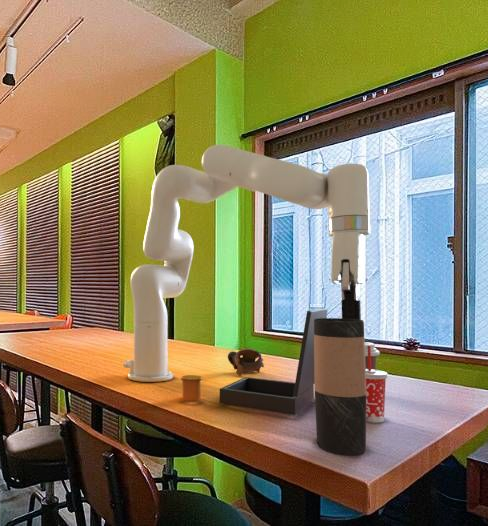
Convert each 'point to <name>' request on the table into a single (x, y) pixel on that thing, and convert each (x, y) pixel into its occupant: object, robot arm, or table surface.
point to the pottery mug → (245, 361)
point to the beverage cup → (375, 392)
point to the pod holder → (265, 395)
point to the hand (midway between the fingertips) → (351, 320)
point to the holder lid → (307, 353)
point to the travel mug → (340, 385)
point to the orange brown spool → (191, 387)
